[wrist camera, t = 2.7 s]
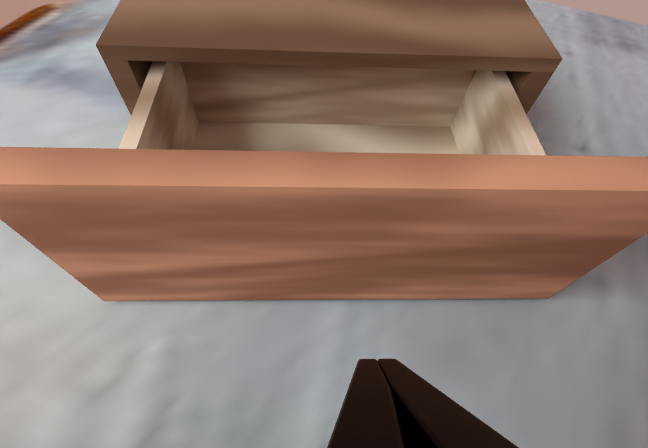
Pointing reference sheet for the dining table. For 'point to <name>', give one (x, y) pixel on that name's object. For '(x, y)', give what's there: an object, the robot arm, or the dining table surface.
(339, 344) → the dining table surface
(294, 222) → the drawer
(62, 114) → the dining table surface
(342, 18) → the cabinet
